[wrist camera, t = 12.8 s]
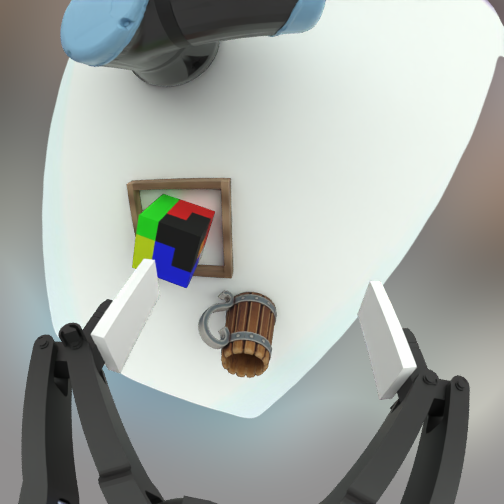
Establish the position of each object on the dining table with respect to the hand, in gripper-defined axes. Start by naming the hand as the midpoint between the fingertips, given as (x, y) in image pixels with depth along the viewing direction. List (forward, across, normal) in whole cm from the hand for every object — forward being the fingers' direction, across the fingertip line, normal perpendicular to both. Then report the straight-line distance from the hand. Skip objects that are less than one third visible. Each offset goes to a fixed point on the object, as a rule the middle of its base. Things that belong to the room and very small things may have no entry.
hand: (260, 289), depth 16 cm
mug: (+31, -3, -28) cm, 42 cm away
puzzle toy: (+31, -15, -11) cm, 36 cm away
